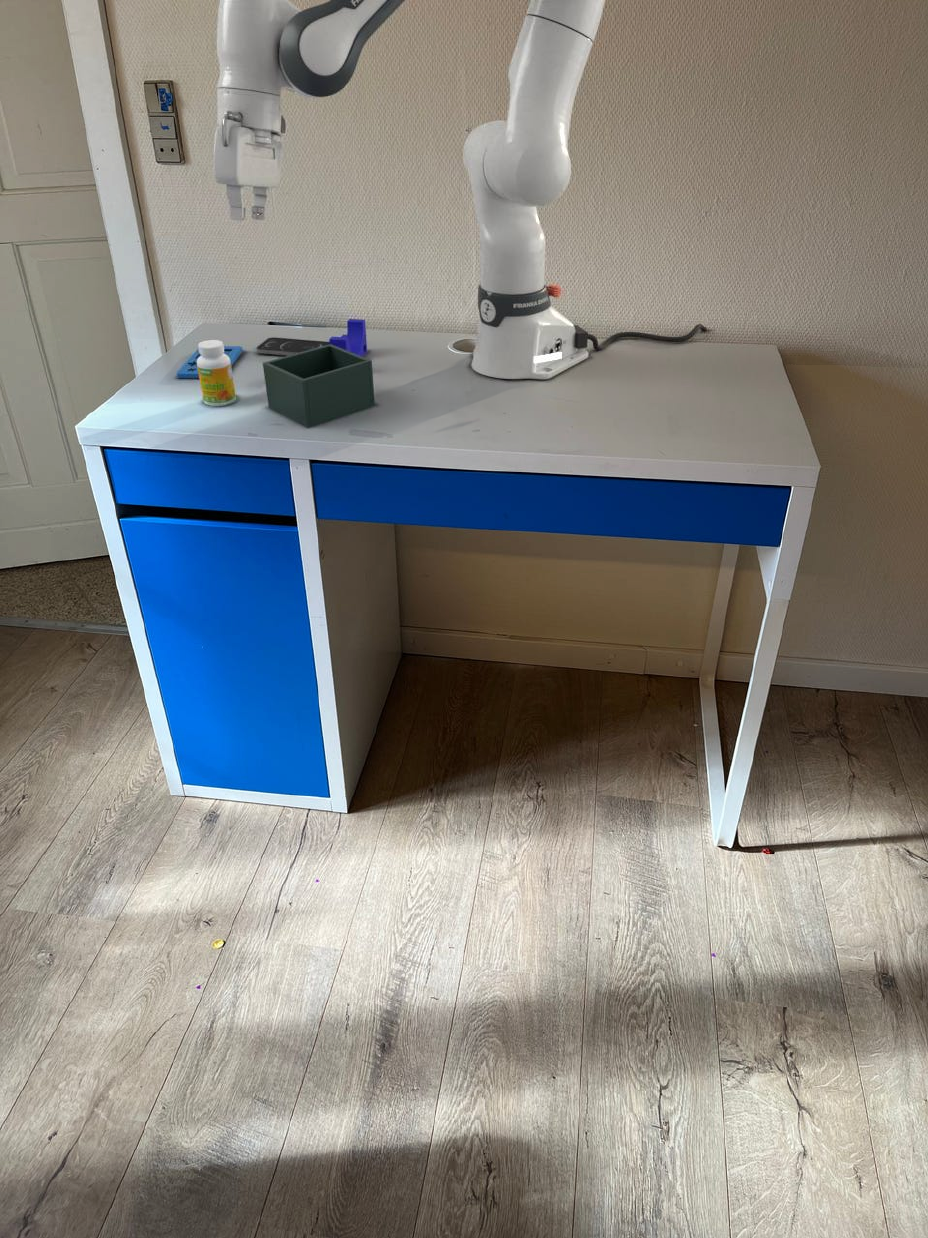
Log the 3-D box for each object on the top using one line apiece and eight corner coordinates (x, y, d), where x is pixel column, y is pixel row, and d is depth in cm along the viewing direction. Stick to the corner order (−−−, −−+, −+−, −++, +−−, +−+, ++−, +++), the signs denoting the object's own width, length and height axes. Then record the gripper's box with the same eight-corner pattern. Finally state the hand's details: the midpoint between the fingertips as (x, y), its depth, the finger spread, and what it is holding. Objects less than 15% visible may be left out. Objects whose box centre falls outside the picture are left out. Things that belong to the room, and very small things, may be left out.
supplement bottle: (200, 407, 155) (189, 349, 149) (207, 395, 159) (197, 338, 154) (232, 406, 155) (223, 348, 149) (239, 394, 159) (230, 338, 154)
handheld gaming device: (175, 371, 165) (200, 344, 177) (176, 377, 166) (201, 349, 178) (221, 372, 165) (242, 344, 177) (222, 378, 165) (243, 350, 178)
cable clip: (344, 350, 178) (341, 318, 174) (367, 351, 177) (365, 319, 173) (324, 371, 168) (321, 338, 165) (348, 373, 167) (345, 340, 164)
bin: (334, 387, 162) (330, 343, 157) (375, 405, 155) (371, 360, 150) (268, 407, 154) (262, 362, 150) (307, 427, 147) (302, 380, 143)
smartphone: (329, 355, 173) (253, 349, 175) (329, 360, 173) (254, 353, 176) (342, 342, 179) (269, 336, 181) (343, 347, 179) (270, 341, 182)
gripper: (246, 110, 124) (246, 223, 130) (290, 123, 143) (288, 221, 149) (200, 106, 125) (202, 218, 131) (250, 119, 143) (249, 216, 149)
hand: (248, 219), depth 140 cm, fingers open, 8 cm apart
